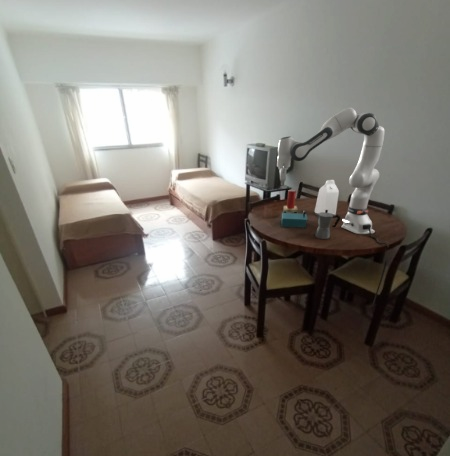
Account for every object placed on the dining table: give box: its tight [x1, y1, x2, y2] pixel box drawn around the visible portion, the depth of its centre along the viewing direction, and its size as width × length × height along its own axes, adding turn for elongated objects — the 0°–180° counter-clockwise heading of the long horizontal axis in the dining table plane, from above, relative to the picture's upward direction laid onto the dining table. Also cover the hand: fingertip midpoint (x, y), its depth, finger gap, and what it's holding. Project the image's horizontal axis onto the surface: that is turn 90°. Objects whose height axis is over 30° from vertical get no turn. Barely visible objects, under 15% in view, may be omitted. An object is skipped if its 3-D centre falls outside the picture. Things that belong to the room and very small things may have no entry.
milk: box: [314, 179, 340, 215], centre depth 216 cm, size 12×12×26 cm
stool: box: [283, 205, 299, 213], centre depth 212 cm, size 10×10×8 cm
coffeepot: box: [314, 210, 341, 240], centre depth 175 cm, size 15×9×18 cm, turn 68°
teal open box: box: [281, 219, 307, 228], centre depth 199 cm, size 17×13×6 cm
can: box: [286, 189, 297, 209], centre depth 207 cm, size 6×6×13 cm
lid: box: [281, 209, 309, 222], centre depth 196 cm, size 17×13×5 cm
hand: (282, 185), depth 188 cm, fingers closed
